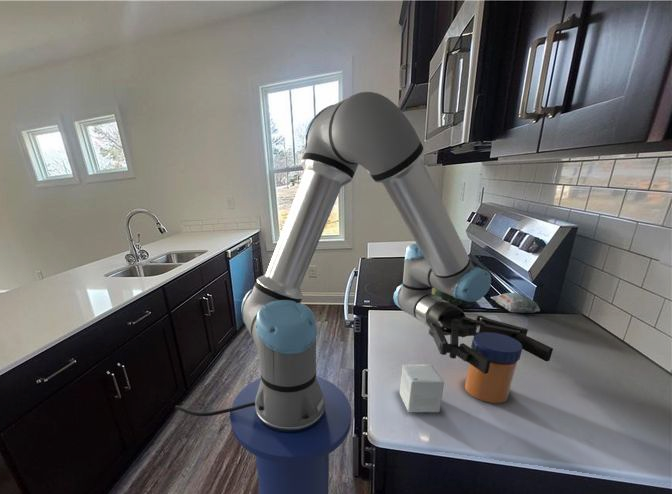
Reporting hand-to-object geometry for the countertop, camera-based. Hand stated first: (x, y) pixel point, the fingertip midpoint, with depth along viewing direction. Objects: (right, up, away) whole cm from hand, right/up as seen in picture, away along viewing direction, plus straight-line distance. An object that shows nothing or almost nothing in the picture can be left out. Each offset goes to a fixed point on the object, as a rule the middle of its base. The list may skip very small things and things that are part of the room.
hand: (519, 361), depth 58 cm
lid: (-1, +3, +4) cm, 5 cm away
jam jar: (0, -8, +9) cm, 12 cm away
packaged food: (+32, +8, +44) cm, 55 cm away
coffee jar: (+13, +9, +51) cm, 53 cm away
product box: (-16, -10, +7) cm, 20 cm away
